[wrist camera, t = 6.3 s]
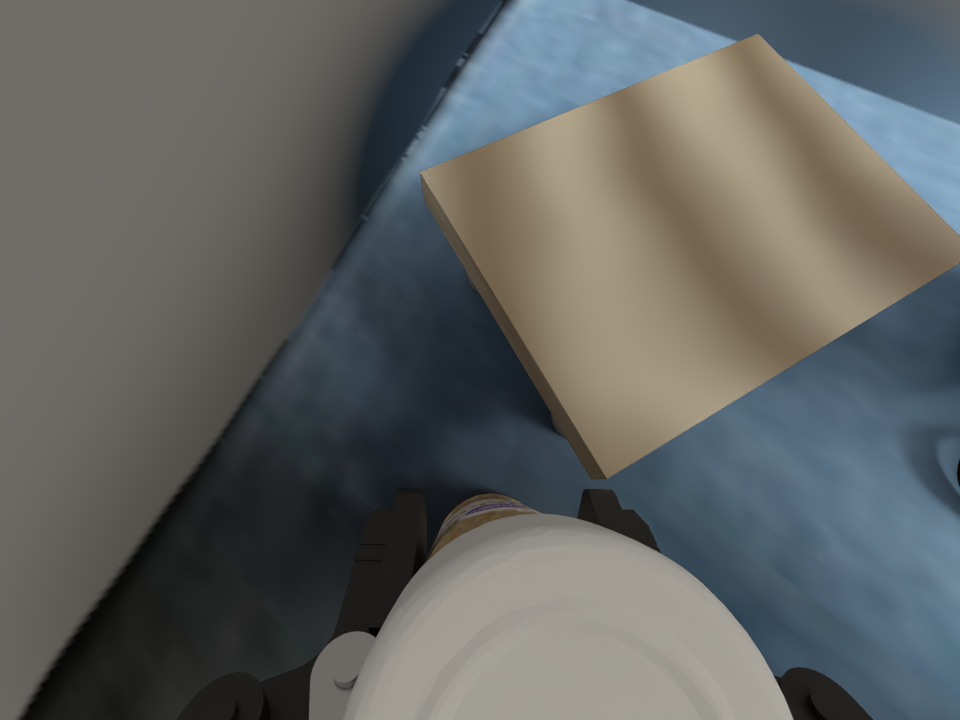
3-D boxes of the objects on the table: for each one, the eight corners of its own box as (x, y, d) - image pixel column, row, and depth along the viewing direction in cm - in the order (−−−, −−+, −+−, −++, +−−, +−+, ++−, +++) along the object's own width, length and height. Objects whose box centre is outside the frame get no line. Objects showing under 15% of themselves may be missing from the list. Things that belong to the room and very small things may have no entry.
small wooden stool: (684, 146, 23) (758, 33, 17) (829, 318, 20) (976, 252, 14) (432, 261, 20) (420, 172, 14) (559, 480, 17) (606, 478, 11)
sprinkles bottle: (520, 477, 17) (690, 460, 4) (562, 589, 16) (969, 1028, 3) (418, 516, 17) (259, 634, 4) (454, 636, 15) (403, 1424, 2)
